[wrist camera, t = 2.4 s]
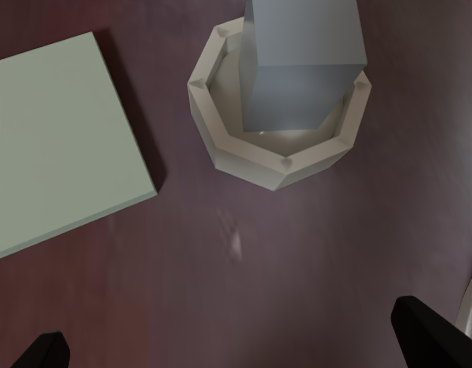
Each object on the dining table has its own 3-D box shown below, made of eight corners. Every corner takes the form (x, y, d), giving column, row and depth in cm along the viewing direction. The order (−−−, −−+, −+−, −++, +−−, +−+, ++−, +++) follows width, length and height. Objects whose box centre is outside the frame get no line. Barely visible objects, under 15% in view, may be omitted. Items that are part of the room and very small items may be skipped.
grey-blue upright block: (317, 129, 22) (367, 63, 15) (243, 132, 22) (258, 65, 15) (308, 63, 24) (351, -27, 16) (238, 64, 23) (249, -28, 16)
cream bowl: (365, 152, 26) (396, 128, 21) (233, 208, 24) (237, 195, 19) (301, 35, 28) (318, -9, 23) (175, 79, 26) (168, 41, 22)
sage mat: (157, 194, 24) (154, 190, 22) (-17, 265, 22) (-34, 264, 20) (98, 44, 26) (91, 31, 25) (-64, 96, 24) (-81, 85, 23)
